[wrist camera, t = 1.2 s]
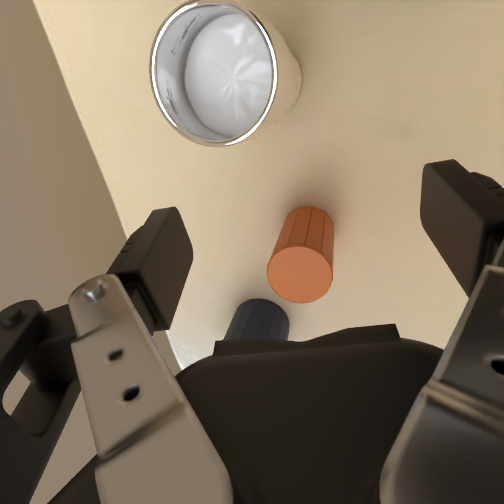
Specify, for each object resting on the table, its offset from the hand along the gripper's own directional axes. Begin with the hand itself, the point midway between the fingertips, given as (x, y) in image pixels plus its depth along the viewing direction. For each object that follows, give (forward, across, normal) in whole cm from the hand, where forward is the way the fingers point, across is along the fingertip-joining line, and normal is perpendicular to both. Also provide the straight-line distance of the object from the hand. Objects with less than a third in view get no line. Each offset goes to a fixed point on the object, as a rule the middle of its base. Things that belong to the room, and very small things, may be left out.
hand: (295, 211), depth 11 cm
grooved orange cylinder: (+20, 0, +13) cm, 24 cm away
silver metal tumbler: (+23, +2, 0) cm, 23 cm away
